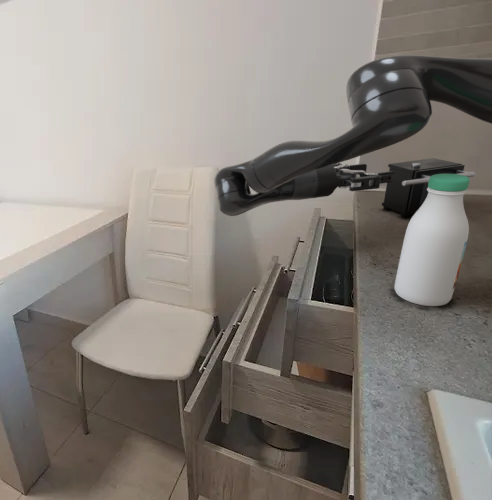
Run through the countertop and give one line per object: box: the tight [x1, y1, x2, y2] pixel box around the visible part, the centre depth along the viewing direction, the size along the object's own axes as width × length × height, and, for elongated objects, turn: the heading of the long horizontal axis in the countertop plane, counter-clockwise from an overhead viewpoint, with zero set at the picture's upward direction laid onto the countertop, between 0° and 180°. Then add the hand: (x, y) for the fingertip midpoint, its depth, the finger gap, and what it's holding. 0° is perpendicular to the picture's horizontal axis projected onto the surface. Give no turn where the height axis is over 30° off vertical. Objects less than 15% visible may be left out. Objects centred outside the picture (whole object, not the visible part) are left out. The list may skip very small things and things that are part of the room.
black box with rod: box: [381, 157, 463, 219], centre depth 92 cm, size 8×12×13 cm
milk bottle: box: [393, 174, 471, 307], centre depth 57 cm, size 8×8×20 cm
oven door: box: [402, 164, 476, 212], centre depth 85 cm, size 4×17×10 cm, turn 96°
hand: (378, 172), depth 80 cm, fingers open, 8 cm apart
